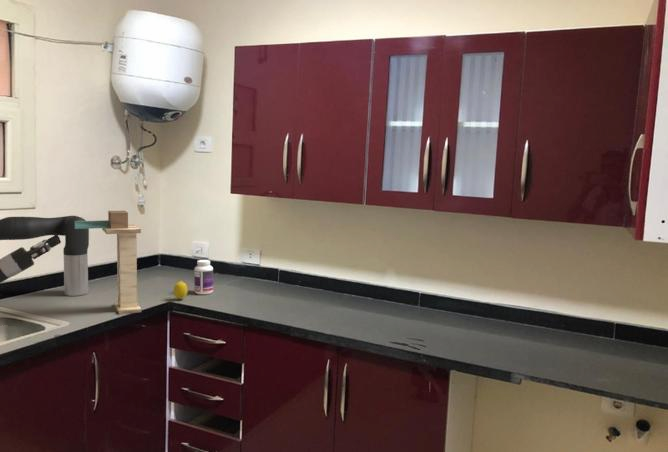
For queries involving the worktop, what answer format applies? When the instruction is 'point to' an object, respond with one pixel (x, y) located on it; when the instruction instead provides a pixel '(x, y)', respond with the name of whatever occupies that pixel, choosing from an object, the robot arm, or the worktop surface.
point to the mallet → (106, 221)
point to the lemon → (180, 290)
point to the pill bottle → (203, 277)
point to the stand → (126, 268)
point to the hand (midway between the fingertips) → (59, 238)
